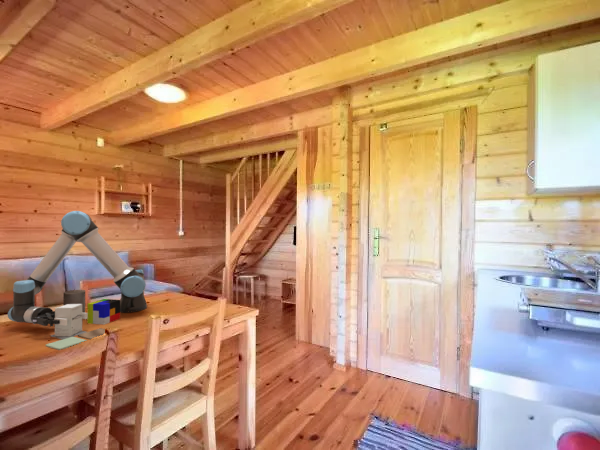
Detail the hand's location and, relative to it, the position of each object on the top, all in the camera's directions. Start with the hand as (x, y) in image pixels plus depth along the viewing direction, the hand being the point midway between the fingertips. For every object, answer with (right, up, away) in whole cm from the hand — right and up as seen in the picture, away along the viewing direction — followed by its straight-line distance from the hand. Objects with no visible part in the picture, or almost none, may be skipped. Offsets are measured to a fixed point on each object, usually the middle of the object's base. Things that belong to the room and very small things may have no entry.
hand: (76, 319), depth 136 cm
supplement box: (-4, -7, +1) cm, 8 cm away
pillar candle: (-22, -8, +28) cm, 36 cm away
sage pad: (+3, -7, -10) cm, 13 cm away
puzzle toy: (-1, -8, +20) cm, 22 cm away
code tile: (-4, -7, +1) cm, 9 cm away
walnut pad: (+8, -7, +1) cm, 11 cm away
